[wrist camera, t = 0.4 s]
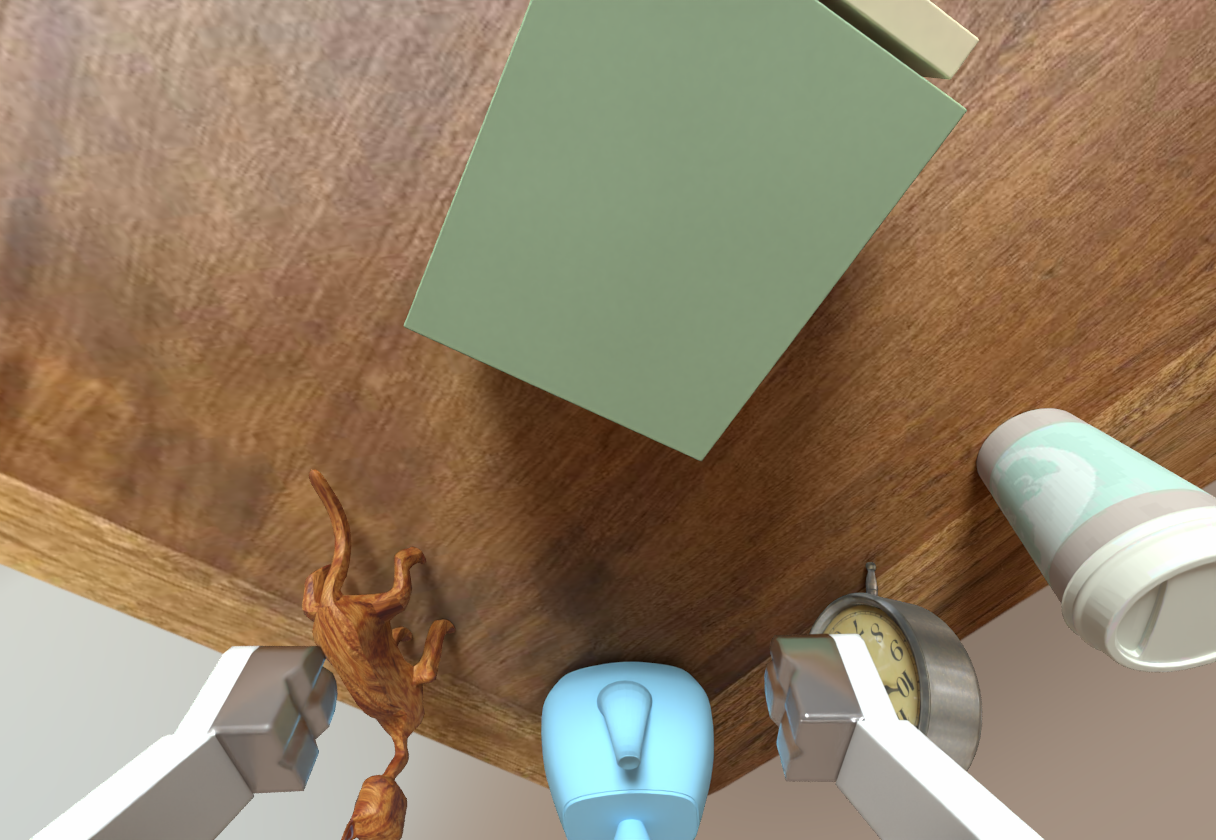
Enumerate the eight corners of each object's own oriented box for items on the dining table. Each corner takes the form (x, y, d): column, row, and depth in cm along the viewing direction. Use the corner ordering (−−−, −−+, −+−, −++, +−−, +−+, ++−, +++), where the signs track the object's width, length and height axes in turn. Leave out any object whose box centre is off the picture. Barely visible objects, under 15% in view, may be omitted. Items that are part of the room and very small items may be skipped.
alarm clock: (858, 543, 39) (1002, 817, 25) (929, 563, 40) (1103, 838, 26) (775, 648, 44) (855, 921, 30) (839, 664, 45) (944, 935, 32)
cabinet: (595, -96, 22) (594, -164, 15) (862, 90, 25) (968, 110, 18) (452, 255, 29) (402, 327, 22) (678, 367, 32) (701, 462, 25)
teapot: (743, 761, 33) (727, 905, 42) (711, 605, 42) (704, 752, 51) (510, 771, 33) (545, 912, 42) (529, 614, 42) (555, 759, 52)
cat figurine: (268, 468, 35) (105, 678, 24) (373, 444, 34) (258, 649, 23) (399, 661, 44) (328, 880, 33) (484, 645, 44) (442, 864, 32)
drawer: (712, -331, 19) (763, -500, 13) (980, -100, 22) (1120, -153, 16) (483, 212, 27) (452, 258, 21) (700, 325, 30) (723, 392, 24)
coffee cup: (1015, 367, 32) (1206, 515, 22) (1141, 411, 34) (1374, 569, 24) (922, 487, 37) (1046, 659, 26) (1038, 521, 38) (1198, 696, 28)
